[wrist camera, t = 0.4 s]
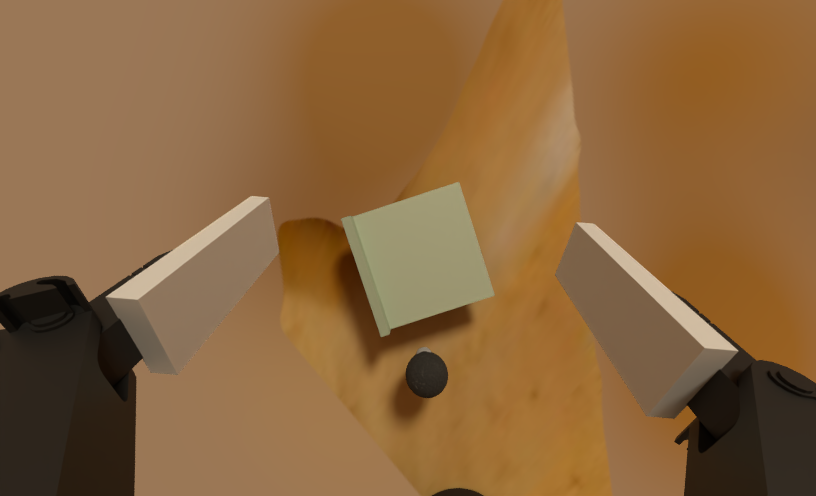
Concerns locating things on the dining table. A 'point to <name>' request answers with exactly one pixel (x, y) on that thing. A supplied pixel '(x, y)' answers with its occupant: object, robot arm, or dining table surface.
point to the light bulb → (426, 374)
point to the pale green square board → (418, 257)
